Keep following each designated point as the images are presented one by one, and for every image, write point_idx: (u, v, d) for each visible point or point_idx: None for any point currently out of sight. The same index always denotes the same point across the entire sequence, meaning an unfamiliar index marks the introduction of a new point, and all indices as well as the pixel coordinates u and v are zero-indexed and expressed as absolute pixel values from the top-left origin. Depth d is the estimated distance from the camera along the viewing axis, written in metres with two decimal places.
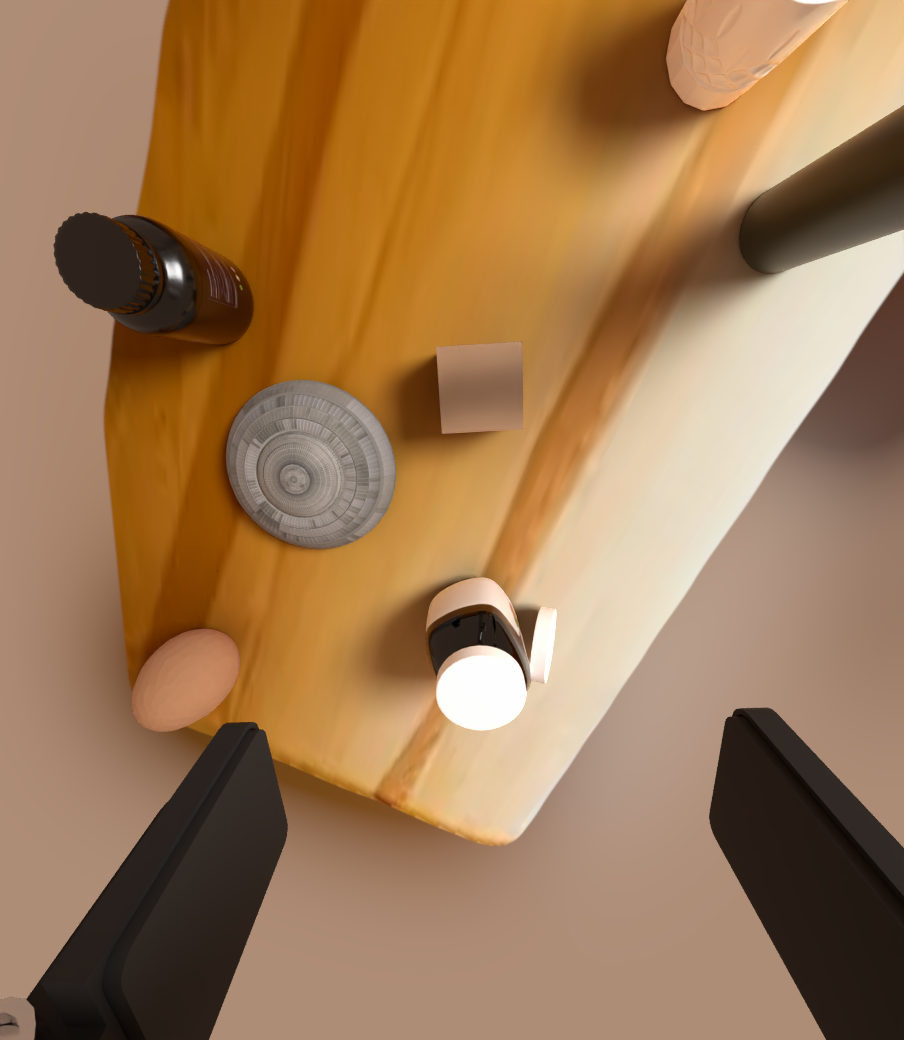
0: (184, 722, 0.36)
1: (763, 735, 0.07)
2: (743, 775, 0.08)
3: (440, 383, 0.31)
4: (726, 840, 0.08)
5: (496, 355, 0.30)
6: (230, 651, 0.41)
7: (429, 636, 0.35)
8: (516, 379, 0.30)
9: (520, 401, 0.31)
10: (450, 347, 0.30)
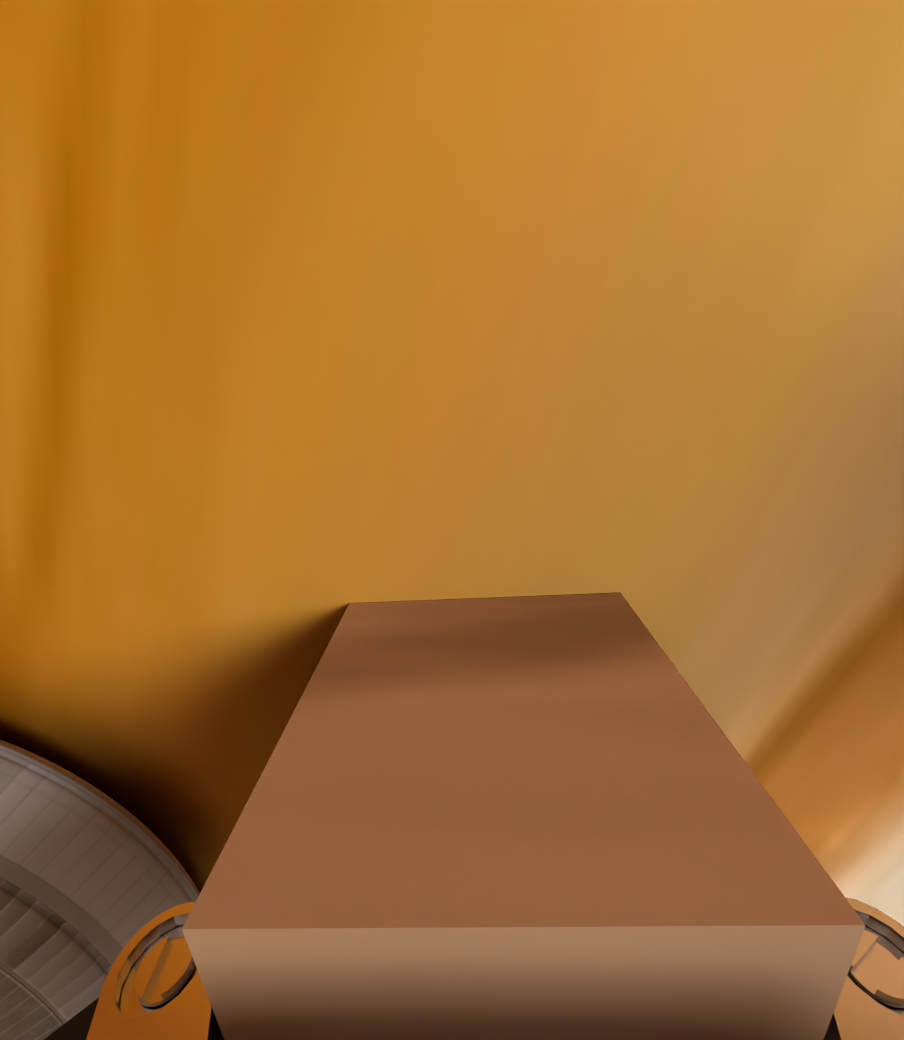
0: None
1: None
2: None
3: None
4: None
5: (646, 984, 0.04)
6: None
7: None
8: None
9: None
10: (290, 938, 0.04)
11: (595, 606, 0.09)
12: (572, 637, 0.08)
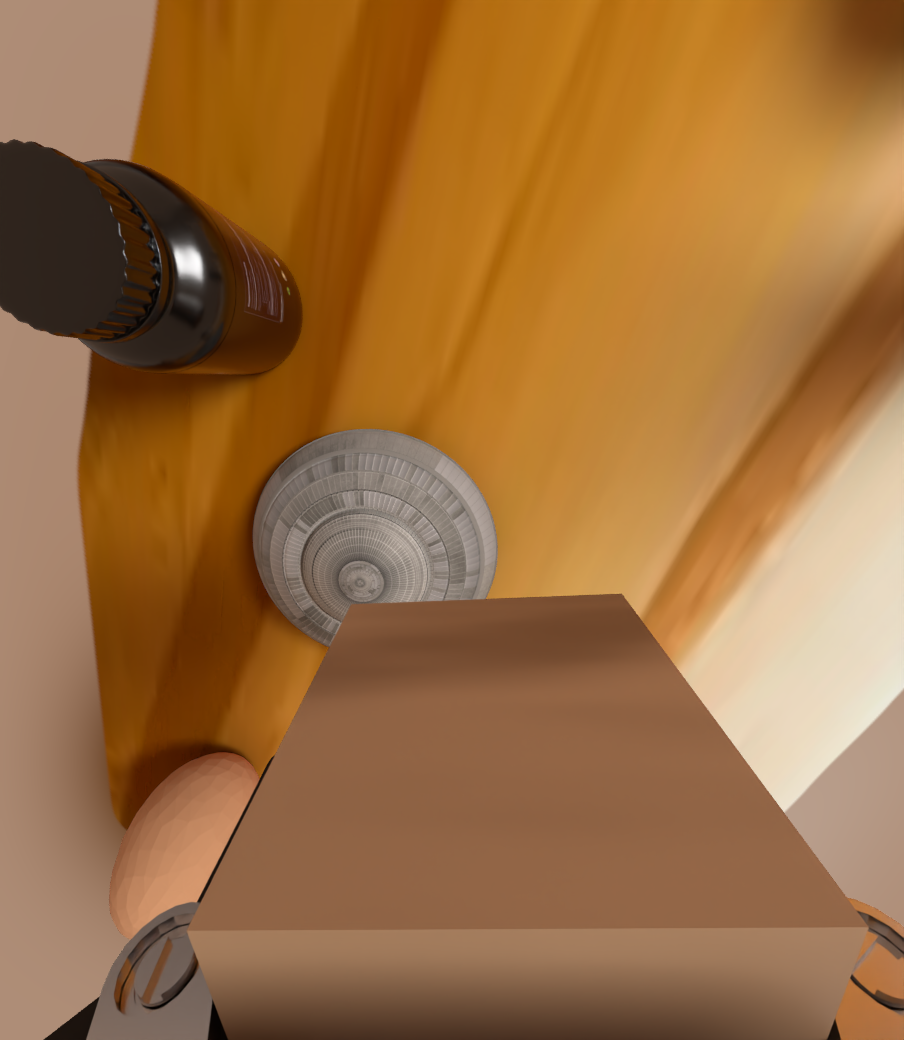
0: None
1: None
2: None
3: None
4: None
5: (648, 985, 0.04)
6: (251, 793, 0.29)
7: None
8: None
9: None
10: (294, 940, 0.04)
11: (597, 607, 0.09)
12: (574, 638, 0.08)
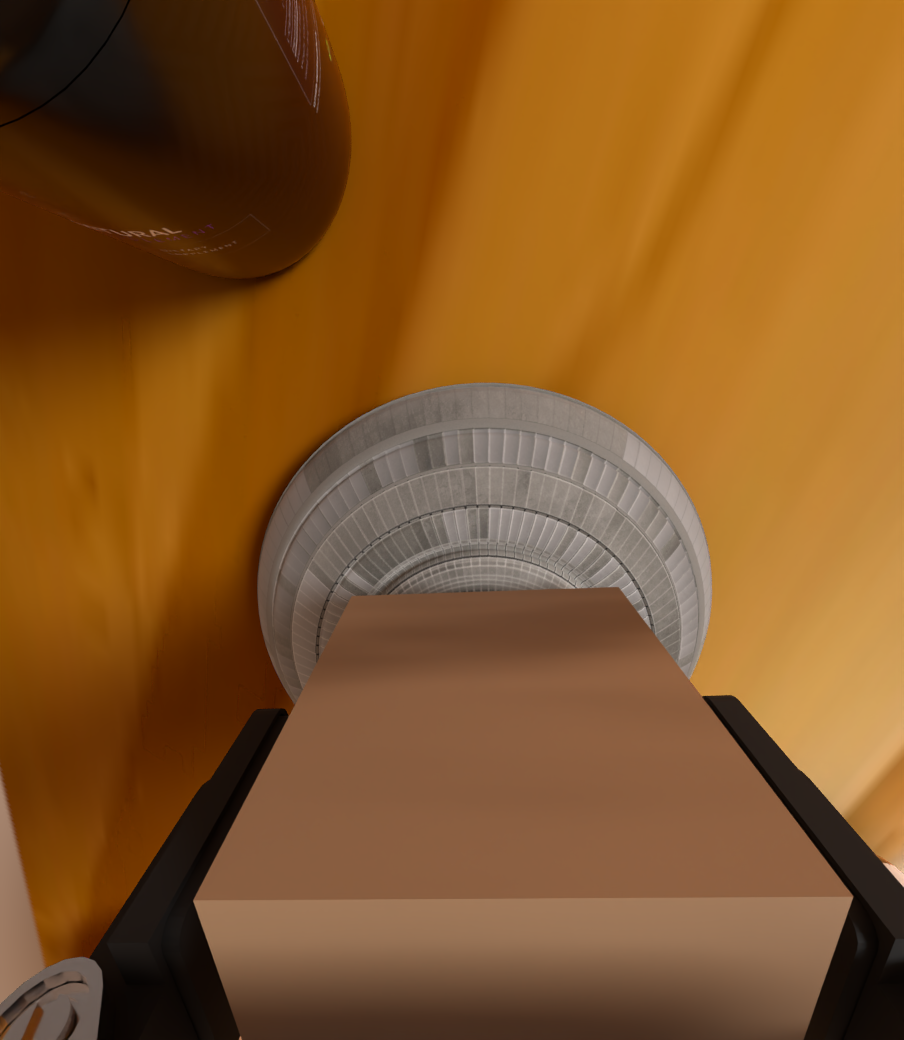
0: None
1: (724, 720, 0.08)
2: None
3: None
4: None
5: (642, 953, 0.04)
6: None
7: None
8: None
9: None
10: (298, 909, 0.04)
11: (594, 600, 0.09)
12: (571, 629, 0.08)
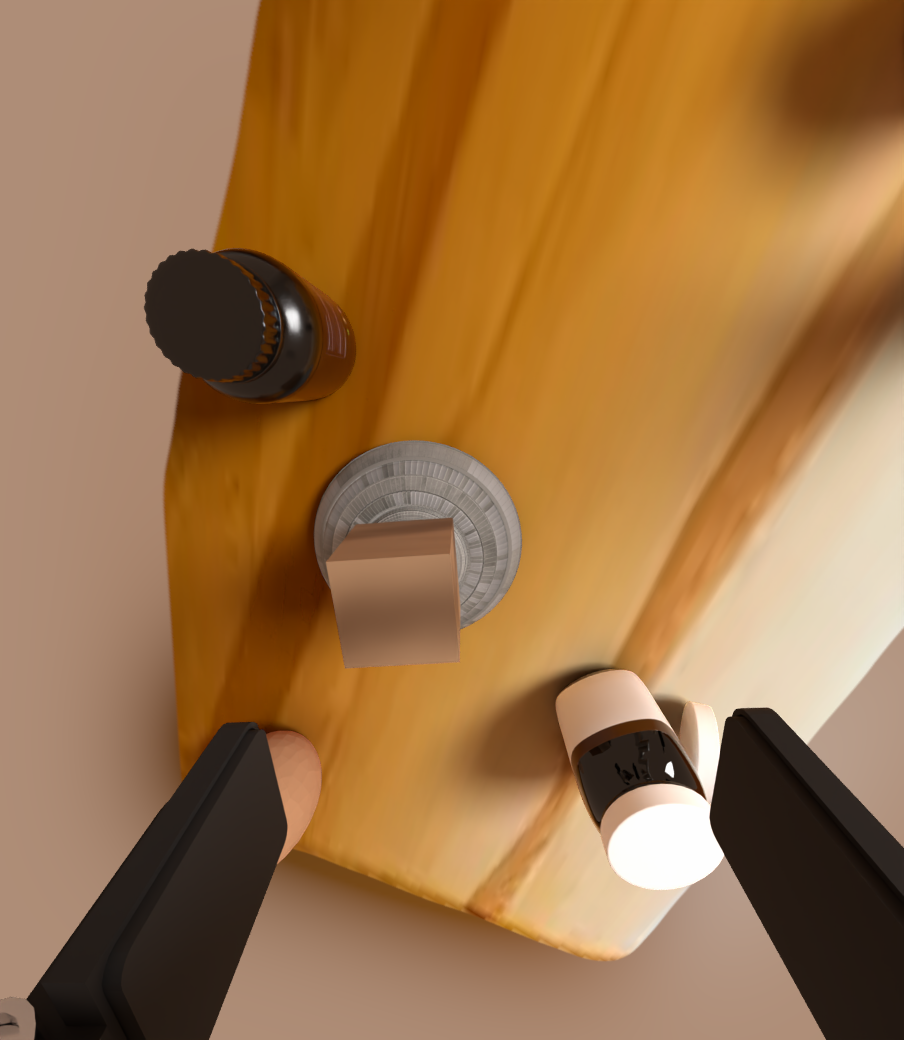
0: None
1: (763, 735, 0.07)
2: (743, 775, 0.08)
3: (336, 607, 0.21)
4: (725, 840, 0.08)
5: (414, 571, 0.21)
6: (313, 763, 0.34)
7: (580, 761, 0.28)
8: (444, 601, 0.21)
9: (453, 628, 0.21)
10: (346, 562, 0.20)
11: (441, 521, 0.25)
12: (427, 527, 0.24)
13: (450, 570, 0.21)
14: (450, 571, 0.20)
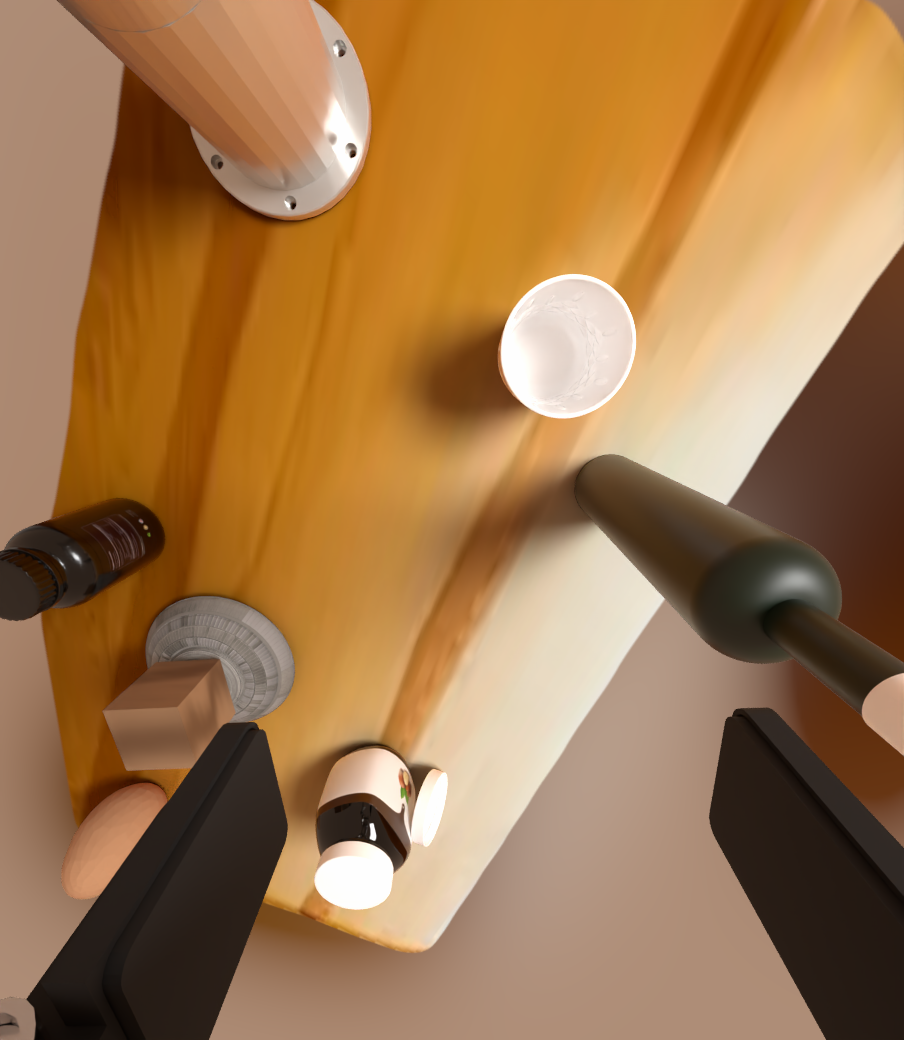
0: None
1: (763, 735, 0.07)
2: (743, 775, 0.08)
3: (114, 735, 0.34)
4: (725, 840, 0.08)
5: (158, 716, 0.33)
6: (156, 810, 0.46)
7: (316, 820, 0.40)
8: (180, 733, 0.33)
9: (189, 748, 0.34)
10: (115, 711, 0.33)
11: (209, 663, 0.38)
12: (193, 671, 0.37)
13: (179, 716, 0.33)
14: (179, 716, 0.33)
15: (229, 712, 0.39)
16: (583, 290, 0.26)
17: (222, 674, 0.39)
